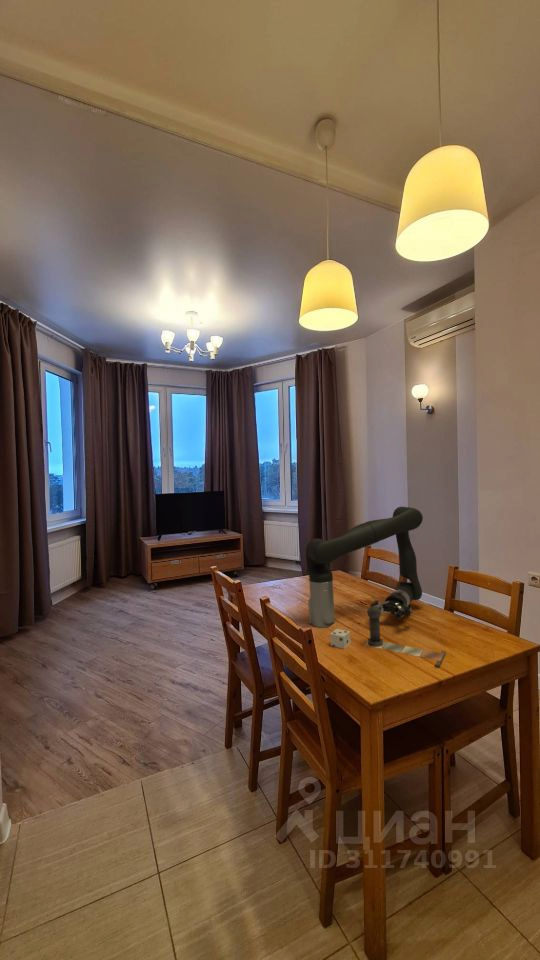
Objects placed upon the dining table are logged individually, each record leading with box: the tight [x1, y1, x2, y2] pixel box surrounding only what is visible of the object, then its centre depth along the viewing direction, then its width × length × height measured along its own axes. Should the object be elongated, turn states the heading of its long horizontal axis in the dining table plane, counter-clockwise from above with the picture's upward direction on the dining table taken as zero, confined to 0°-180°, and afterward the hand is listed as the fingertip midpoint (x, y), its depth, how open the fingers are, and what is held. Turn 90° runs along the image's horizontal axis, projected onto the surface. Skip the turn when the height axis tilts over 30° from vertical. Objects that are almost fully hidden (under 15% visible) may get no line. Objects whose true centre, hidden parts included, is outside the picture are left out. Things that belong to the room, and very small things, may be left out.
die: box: [329, 628, 351, 650], centre depth 131 cm, size 5×5×5 cm
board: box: [364, 641, 447, 669], centre depth 125 cm, size 24×11×1 cm, turn 56°
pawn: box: [366, 606, 384, 648], centre depth 130 cm, size 5×5×13 cm
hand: (384, 614), depth 139 cm, fingers open, 8 cm apart
